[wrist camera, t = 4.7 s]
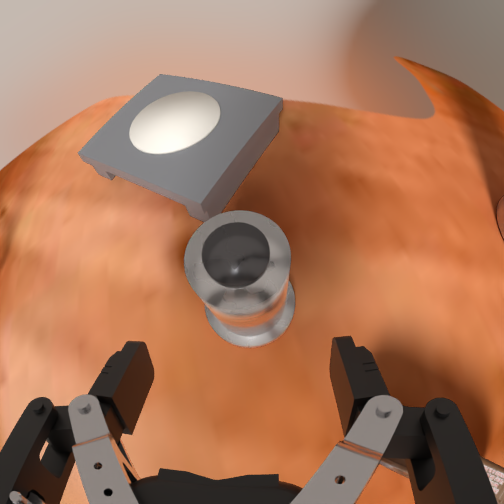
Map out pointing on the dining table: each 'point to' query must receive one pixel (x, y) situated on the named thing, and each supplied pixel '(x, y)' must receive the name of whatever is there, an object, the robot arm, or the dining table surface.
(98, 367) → the dining table surface
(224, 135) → the stand
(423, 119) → the dining table surface
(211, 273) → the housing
